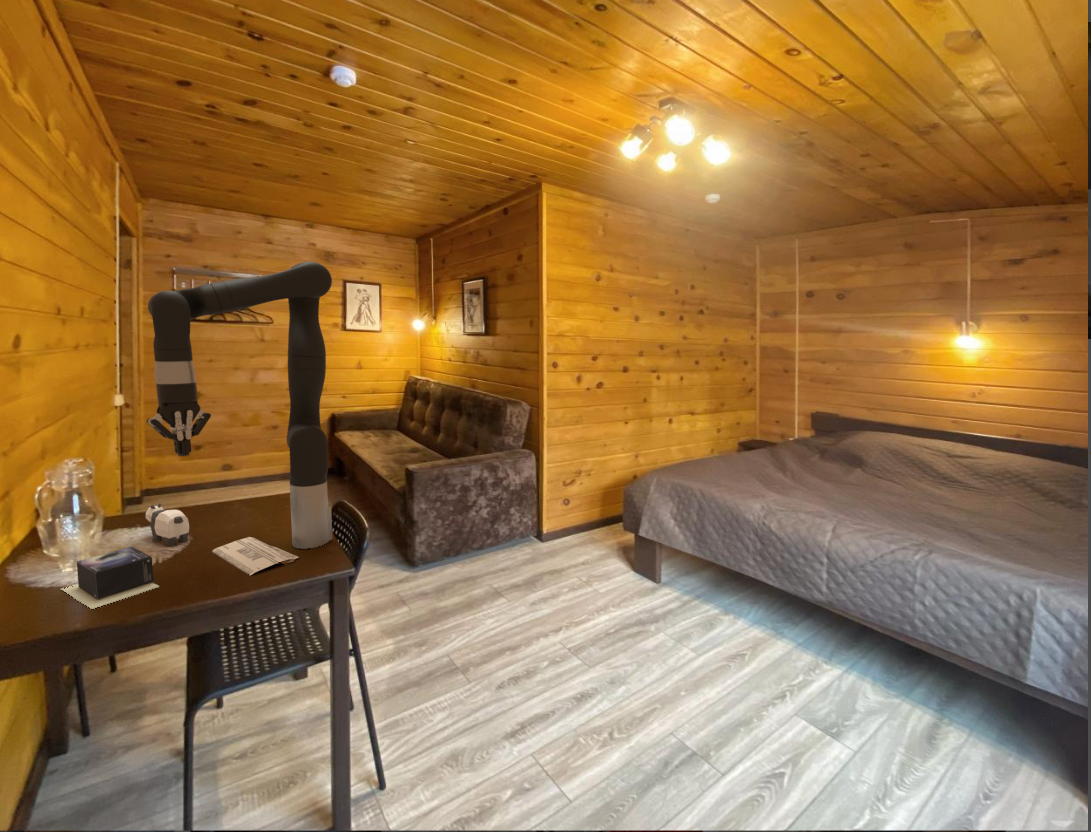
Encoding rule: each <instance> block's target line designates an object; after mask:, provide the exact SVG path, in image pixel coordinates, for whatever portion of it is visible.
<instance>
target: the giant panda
mask: <svg viewBox="0 0 1091 832" xmlns="http://www.w3.org/2000/svg"><path fill="white" fill-rule="evenodd" d="M145 519H146V520H147V521H148V522H149V523H150V530H151V534H152V539H151V542H153V543H160V542H162V541H163V538H165V539H166V540H165V541H166V543H165V545H166V546H167V547H174V546H175V545H176V538H177V537H178V539H177V541H178V542H180V543H187V541H188V539H189V538H188V536H189V532H190V523H189V519H188V517H187V516H186V515H185V514H184V512H182V511H181V510H179V509H168V508H166V509H164V508H163V507H162V503H158V504H157V505H153V504H151V505H150V507H148V508H147V510H146V511H145Z"/></svg>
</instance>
